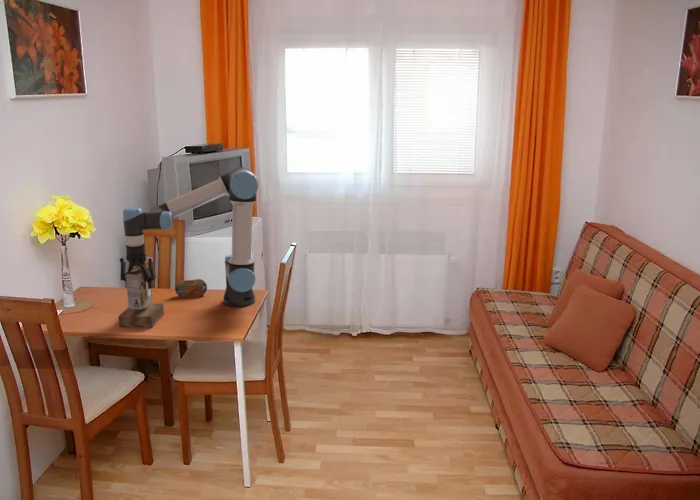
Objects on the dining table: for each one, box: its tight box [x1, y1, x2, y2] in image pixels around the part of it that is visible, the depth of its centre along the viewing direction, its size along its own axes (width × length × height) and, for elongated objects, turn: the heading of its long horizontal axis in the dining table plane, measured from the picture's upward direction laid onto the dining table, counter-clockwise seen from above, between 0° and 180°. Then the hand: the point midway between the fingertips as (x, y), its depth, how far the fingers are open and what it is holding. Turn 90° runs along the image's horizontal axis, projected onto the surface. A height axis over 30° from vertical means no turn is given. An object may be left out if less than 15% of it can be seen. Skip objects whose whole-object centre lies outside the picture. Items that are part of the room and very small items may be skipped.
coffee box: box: [125, 266, 153, 309], centre depth 255 cm, size 9×6×16 cm
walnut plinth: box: [117, 303, 165, 329], centre depth 258 cm, size 14×16×5 cm
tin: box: [174, 278, 208, 298], centre depth 290 cm, size 15×3×8 cm, turn 101°
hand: (139, 295), depth 256 cm, fingers closed on coffee box, 7 cm apart
